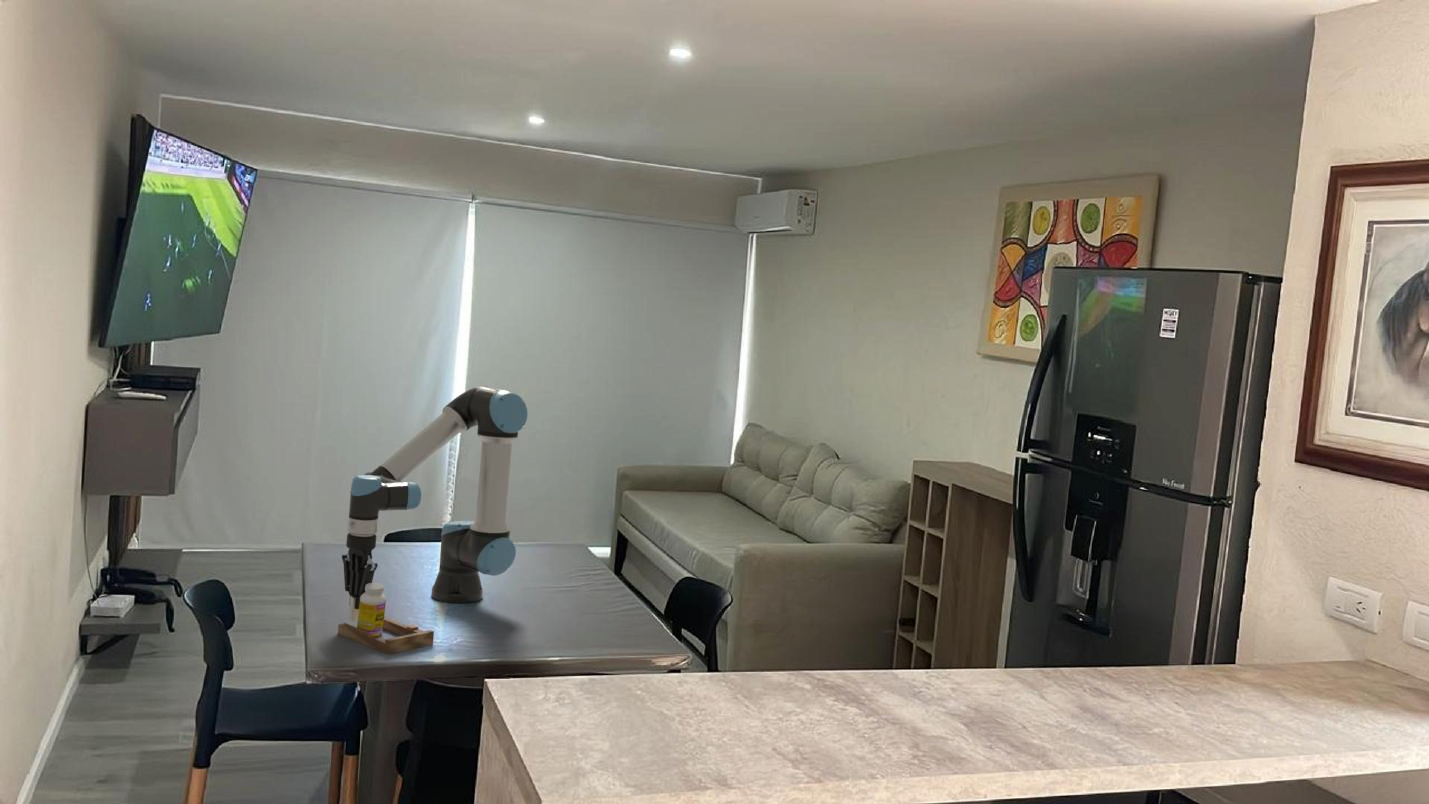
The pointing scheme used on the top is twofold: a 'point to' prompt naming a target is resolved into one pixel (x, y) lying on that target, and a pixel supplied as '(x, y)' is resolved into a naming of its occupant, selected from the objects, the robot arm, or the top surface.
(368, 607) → the supplement bottle
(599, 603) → the top surface
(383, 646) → the wooden frame
